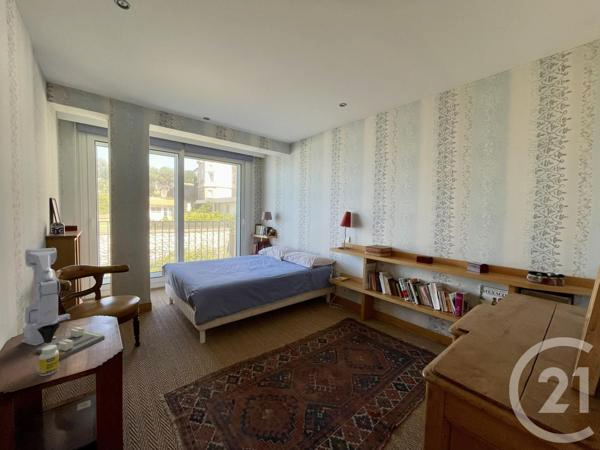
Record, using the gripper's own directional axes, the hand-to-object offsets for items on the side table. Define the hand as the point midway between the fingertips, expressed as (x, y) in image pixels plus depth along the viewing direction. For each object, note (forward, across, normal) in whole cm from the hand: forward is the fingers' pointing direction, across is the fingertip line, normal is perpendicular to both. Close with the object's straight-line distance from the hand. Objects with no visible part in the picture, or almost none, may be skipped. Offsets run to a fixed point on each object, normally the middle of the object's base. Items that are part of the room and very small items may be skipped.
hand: (47, 342), depth 102 cm
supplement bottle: (+8, -4, -8) cm, 13 cm away
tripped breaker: (+6, +7, 0) cm, 9 cm away
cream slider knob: (+6, +16, +8) cm, 19 cm away
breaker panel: (+8, +12, +4) cm, 15 cm away
